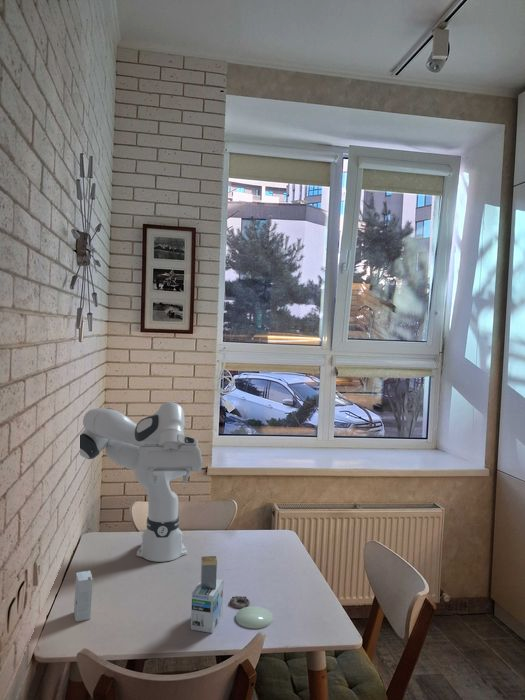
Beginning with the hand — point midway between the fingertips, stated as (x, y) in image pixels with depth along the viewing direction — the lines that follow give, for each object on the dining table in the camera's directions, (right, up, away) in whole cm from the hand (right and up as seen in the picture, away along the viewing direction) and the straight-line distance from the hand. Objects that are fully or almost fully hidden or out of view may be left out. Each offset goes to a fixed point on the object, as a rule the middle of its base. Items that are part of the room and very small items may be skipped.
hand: (169, 482), depth 166 cm
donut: (+21, -39, 0) cm, 45 cm away
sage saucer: (+27, -39, -8) cm, 48 cm away
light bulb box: (+13, -38, -11) cm, 42 cm away
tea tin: (+13, -27, -11) cm, 33 cm away
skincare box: (-24, -37, -10) cm, 45 cm away
